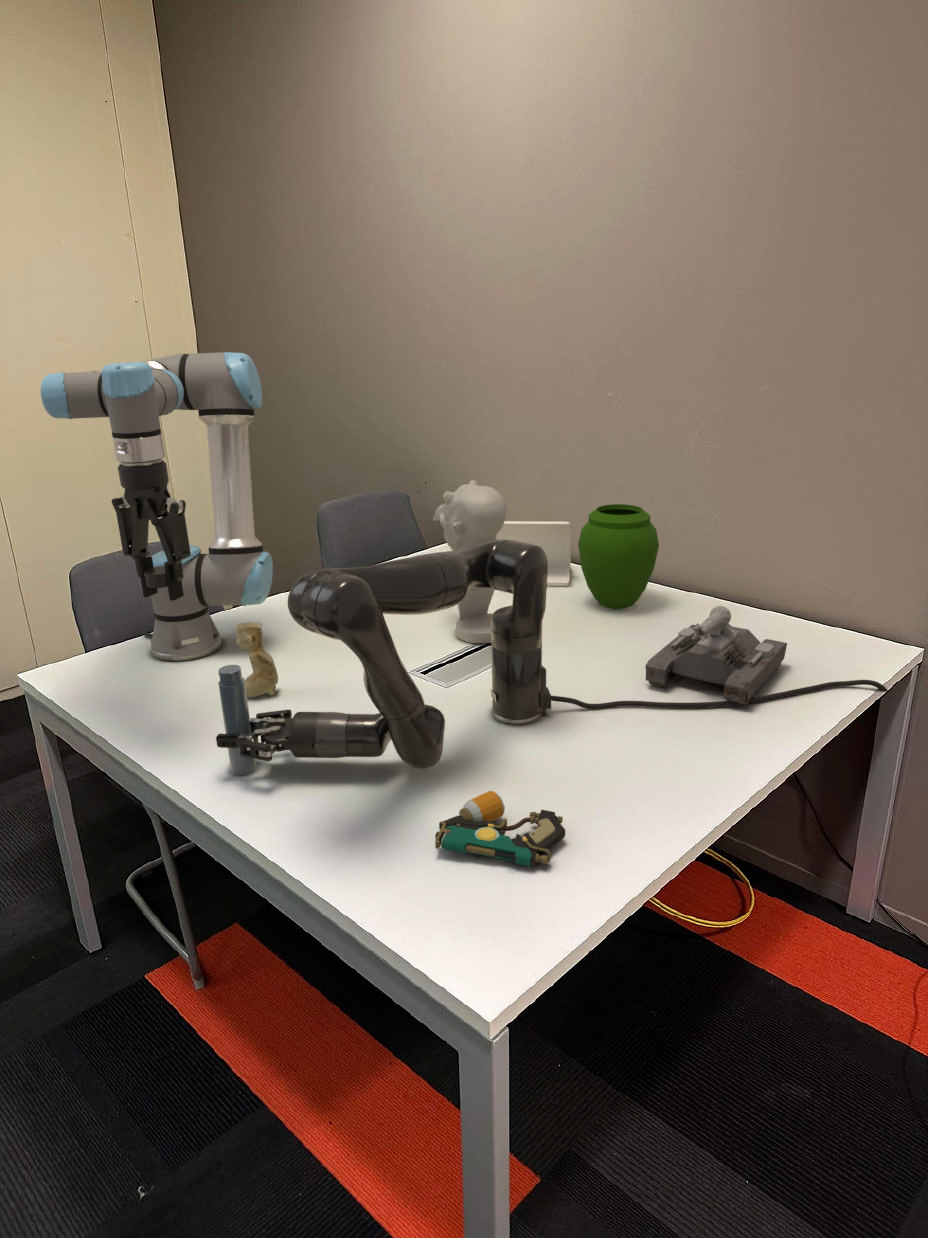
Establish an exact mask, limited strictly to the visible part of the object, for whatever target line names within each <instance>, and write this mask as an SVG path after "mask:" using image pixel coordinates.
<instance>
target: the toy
mask: <svg viewBox="0 0 928 1238" xmlns="http://www.w3.org/2000/svg"><path fill="white" fill-rule="evenodd" d="M731 619H732V613H731V610H730V609H729V608H727V606H722V605H717V606H715V607H713V608H712V609H711V610H710V612H709V616H708V617H707V618H706V619H705V620H704V621H702V622H701V623H699V622H698V623H696V624H691V625H690V626H689V627H685V628H683V629H681V630H680V631H679V632H678V633H677V636H676V637H675V638H674V639H672V640H671V641H669V643H667V644H666V645H665V646H664V647H663V648H662V649H660V650H659V651H658V652H656V653H655V654H654V655H653V656H651V658H649V659H648V661H647V662H646V664H645V681H647V682H648V684H650V685H654V686H659V687H661V688H669V687H670V686H671V685H673V683H674V682H676V681H677V680H678V679H679V678H680V677H685V678H689V679H693V680H699V681H703V682H707V683H710V684H716V685H720V686H724V688H723V689H724V690H723V700H725V701H729V700H730V701H734V702H736V703H739V705H744V706H748V704H750V703H749V700H750V698H752V697H756V695H757V694H758V693H759V692H760V690H761V689H762V688H763V687H764V686H765V684H766V683H768V681H769V680H770V679H771V678H772V677H773V676H774V674H775V673H776V672H777V671H778V670H779V668H780V667H781V664H782V662H783V661H784V660H785V657H786V651H787V646H788V642H784V641H779V640H774V639H769V638H765V639H764V640H762V642H761V641H760V640H759V639H758V638H757V637H756V636H755V635H754V634H753V632H751V631H750V629H747V628H743V627H737V626H733V625H731V624H730V622H731Z"/></svg>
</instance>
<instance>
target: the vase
mask: <svg viewBox="0 0 928 1238" xmlns="http://www.w3.org/2000/svg"><path fill="white" fill-rule="evenodd" d="M587 516H588V517H587V518H588V521H587V522H586V523H585V524H584V525H583V526H582V527H581V529H580V534H579V538H578V541H577V546H578V554H579V562H580V569H581V571H582V574H583V577H584V580H585V583H586V585H587V588H588V590H589V591H590V594H592V597H593V598H594V600H595V601H596V602H597V603H598V604H599V605H600V606H602V607H604V608H606V609H609V610H625V609H628V608H630V607H632V606H634V604H636V602H638V601H639V599H640V597H641V596H642V595H643V593H644V592H645V590H646V588H647V586H648V584H649V581H650V579H651V577H652V574H653V572H654V570H655V566H656V562H657V557H658V552H659V548H660V544H659V543H660V542H659V537H658V531H657V528H656V527H655V526H654V524H653V523H652V522H651V515H650V514H649V512H647V511H645V510H644V509H643V508H642V507H641V506H638V505H633V504H622V503H621V504H619V503H616V504H615V503H614V504H604V505H601V506H598V507H597V508H595V509H594V510H592V511H591V512H590V513H589V514H588V515H587Z"/></svg>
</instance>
